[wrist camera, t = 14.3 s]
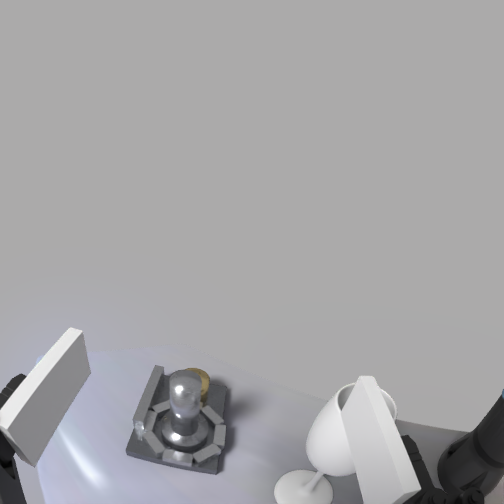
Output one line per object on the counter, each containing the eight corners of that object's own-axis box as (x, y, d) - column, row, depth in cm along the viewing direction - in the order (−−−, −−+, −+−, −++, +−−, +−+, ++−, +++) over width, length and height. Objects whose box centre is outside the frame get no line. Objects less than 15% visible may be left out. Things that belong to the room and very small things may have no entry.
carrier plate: (228, 392, 48) (233, 367, 46) (220, 475, 31) (225, 455, 29) (156, 378, 48) (155, 352, 46) (126, 455, 30) (119, 432, 28)
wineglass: (265, 477, 32) (309, 383, 25) (318, 464, 35) (375, 369, 28) (286, 524, 24) (354, 451, 17) (342, 505, 27) (422, 420, 20)
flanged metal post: (209, 420, 40) (216, 367, 36) (205, 454, 33) (211, 405, 29) (166, 412, 39) (164, 357, 35) (156, 445, 32) (151, 394, 29)
